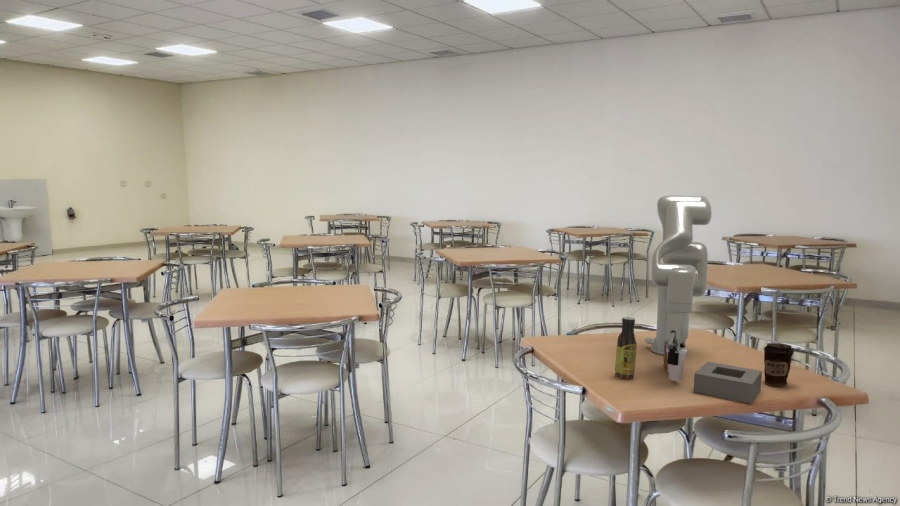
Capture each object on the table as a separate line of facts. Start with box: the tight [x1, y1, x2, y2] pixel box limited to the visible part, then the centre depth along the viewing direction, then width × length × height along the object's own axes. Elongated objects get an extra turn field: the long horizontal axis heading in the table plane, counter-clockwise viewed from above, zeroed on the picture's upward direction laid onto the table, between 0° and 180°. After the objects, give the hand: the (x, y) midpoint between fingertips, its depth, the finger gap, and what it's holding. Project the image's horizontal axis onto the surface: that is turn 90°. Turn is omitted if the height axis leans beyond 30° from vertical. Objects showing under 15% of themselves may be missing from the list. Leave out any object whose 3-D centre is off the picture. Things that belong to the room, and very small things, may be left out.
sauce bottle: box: [614, 316, 638, 380], centre depth 196 cm, size 6×6×20 cm
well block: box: [693, 361, 763, 405], centre depth 185 cm, size 16×16×6 cm
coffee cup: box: [763, 342, 794, 388], centre depth 191 cm, size 9×8×13 cm
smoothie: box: [666, 344, 688, 381], centre depth 191 cm, size 6×6×14 cm
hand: (676, 361), depth 191 cm, fingers closed on smoothie, 6 cm apart
